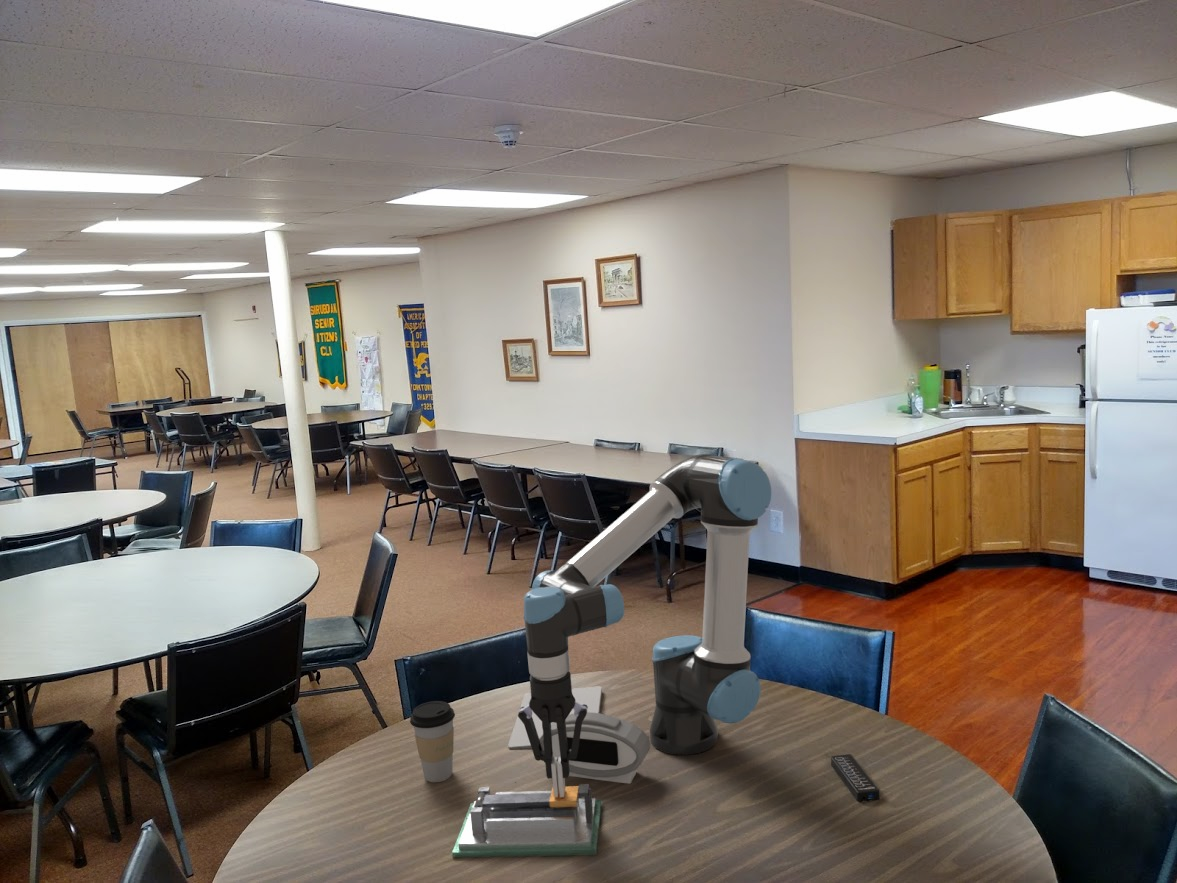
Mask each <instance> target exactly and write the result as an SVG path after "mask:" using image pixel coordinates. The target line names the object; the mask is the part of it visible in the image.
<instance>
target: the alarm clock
mask: <svg viewBox="0 0 1177 883" xmlns="http://www.w3.org/2000/svg"><path fill="white" fill-rule="evenodd" d="M575 722H576V716H575V715H574V714H570V715H568V717H567V718H566V719H565V724H566V733H567V743H568V750H571V748H572V741H573V735H574V728H575ZM551 733H552V750H553V757H557V763H558V759H559V757H560V747H559V738H558V729H557V723H555V722H553V723H552V724H551ZM539 740H540V743H541V746H542V749H543V751H544V740H543V735H542V736H541V737H540V738H539ZM651 745H652V743H651V741H650V736H648V735H647V734H646V732H645V731H644V730H643V729H641V728H640V727H639V726H637V725H635V724H634V723H632V722H630V721H627V720H625V719H623V718H619V717H616V716H613V715H608V714H605V713H601V712H600V713H590V712H587V714H586V716H585V718H584V720H583V721H582V727H581V734H580V740H579V747H578V753H577V758H576V759H571V760H569V769H570V773H569V777H573V778H575V777H576V778H582V779H590V780H599V781H607V782H613V783H623V784H631V783H632V781H633V779H634V778H635V776H636V775H637V769H638V768H639V767H640V766H641V765H642V764H643V762H644V760H645V758H646V756H647V754H648V753H649V751H650V749H651Z"/></svg>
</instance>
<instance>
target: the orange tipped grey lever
mask: <svg viewBox="0 0 1177 883" xmlns="http://www.w3.org/2000/svg"><path fill="white" fill-rule="evenodd" d="M551 791H552V792H551V793H531V794H503V795H495V794H490V795H486V794H485V793H483V792H481V793H479V795H478V794H477V798H476V800H475V801H476V803H475V806H474V807H483V808H494V807H524V806H550V808H553V807H577V803H578V791H579V785H569V786H567V785H565V795H564V797H560V791H559V795H558V797H554V792H553V786H552V788H551Z"/></svg>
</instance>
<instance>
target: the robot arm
mask: <svg viewBox="0 0 1177 883" xmlns="http://www.w3.org/2000/svg"><path fill="white" fill-rule="evenodd" d="M771 500H772V486H771V481H770V478H769V476H768V475H767V473H766V471H764V469H763V468H762V467H761V465H759V464H757V463H755V462H753V461H751V460H746V459H744V458H738V457H732V456H730V457H729V456H721V455H713V454H710V453H709V454H708V453H702V454H695V455H691V456H690V457H687V458H685V459H683V460H681V461H680V462H678V463H676V464H675V465H673V466H671V467H670V468H669V469H667V470H666V471H665V472H663V473H662V474H661V475H659V476H658V477H657V478H656V479H654V481H652V482H651V483H650V485H649V491H648V492H646V493H645V495H643V496H642V497H641V498H640V499H638V500H637V501H636V502H635V503H634V504H633V505H632V506H631V507H630V508H628V509H627V510H626V511H625V512H624V513H622V514H621V515H620V516H619V517H617V519H616V520H614V521H613V522H612V523H610V525H608V526H607V527H606V528H604V530H603V531H601V532H600V533H599V534H598V535H597V536H596V537H595V538H593V539H592V540H591V541H590V542H589V543H587V544H586V545H585V546H584V547H582V548H581V550H578V552H577V553H576V554H574V555H573V557H571V558H570V559H569V560H567V561H566V562H565V563H564V564H563V565H561V567H559V568H558V569H557V570H552V569H551V570H545V571H544V570H543V571H541V572H540V573H539V574H537V576H536V577H535V578H534V580H533V583H532V586H531V589H530V590H529V591H527V593H525V595H524V597H523V621H524V626H525V637H526V648H527V651H526V652H527V653H526V654H527V662H528V665H527V666H528V672H529V674H530V676H529V685H530V686H529V688H530V692H531V699H530V702H529V705H527V706H526V707H521V706H520V707H521V708H519V710H518V714H517V716H518V717H519V718H520V720H521V721H522V722H523V724H524V726H525V729H526V732H527V735H528V738H529V741H530V744H531V747H532V748H531V751H532V753H533V757H534V760H536V761H542V762H544V763H545V776H546V778H547V779H548V780H549V779H552V787H553V792H554V797H558V795H559V791H560V797H564V795H565V786H566V779H568V778H570V776H569V773H570V769H569V760H571V759H576V758H577V753H578V747H579V740H580V734H581V727H582V721H583V720H584V718H585V716H586V714H587V709H588V706H587V705H585V704H583V705H580V704H579V703H577V702H575V698H574V696H573V694H572V689H573V688H572V687H573V686H572V676H571V671H570V669H571V663H570V653H569V652H570V650H569V637H573V636H576V635H577V636H578V635H579V634H584V633H587V632H591V631H595V630H597V629H601V628H607V627H609V626H612V625H614V624H617V623H619V622H621V620H622V619H623V617H624V615H625V609H626V608H625V602H624V597H623V595H622V593H621V591H620V590H619V588H618V587H617V586H615V585H614V584H600V583H601V582H602V581H603V580H604V579H605V578H606V577H608V576H609V575H610V574H611V573H612V572H613V571H614V570H616V569H617V568H618V567H619V566H620V565H621V564H622V563H623V562H624V561H626V560H627V559H628V558H629V557H631V555H632V554H634V553H635V552H636V551H637V550H638V549H640V548H641V546H643V545H644V544H645V543H646V542H647V541H648V540H650V539H651V538H652V537H653V536H654V535H655V534H657V532H659V531H660V530H661V529H662V528H664V526H665V525H667V524H668V523H669V522H670V521H671V520H672V519H680V518H682V517H683V516H684V515H685V514H686V513H687V512H689V511H693V510H695V509H700V510H701V511H700V523H701V525H703V526H704V528H705V529H706V531H707V537H706V554H705V555H706V559H705V576H704V577H705V578H704V597H703V598H704V599H703V600H704V601H703V615H702V616H703V617H702V619H703V620H702V636H699V635H693V634H689V635H688V634H683V635H676V636H670V637H666V638H663V639H661V640H659V641H657V642H656V643H655V644H654V646H652V647H653V648H652V660H651V661H652V666H653V680H654V683H653V684H654V695H655V696H654V697H655V709H654V712H653V717H652V718H651V719H652V720H651V724H650V726H649V740H650V743H651V745H652V746H653V747H654V748H656V749H658V750H659V751H662V752H664V753H666V754H667V753H668V754H673V755H683V756H684V755H686V756H687V755H694V754H699V753H702V752H705V751H708V750H710V749H711V748H713V747H714V746H715V745H716V744H717V742H718V739H719V735H718V734H719V733H718V732H719V731H718V727H717V724H716V721H715V720H717V721H720V722H723V723H725V724H736V723H739V722H741V721H743V720H744V719H746V718H747V717H749V716H750V715H751V712H753V711H754V710H755V708H756V706H757V705H758V703H759V700H760V697H761V691H762V686H761V681H760V679H759V677H758V676H757V674H756V673H755V672H754V671H752V670H751V657H752V656H751V653H750V651H748V650H747V648H745V632H746V631H745V630H746V629H745V628H746V613H747V612H746V611H747V609H746V608H747V590H748V571H749V570H748V568H749V554H750V553H749V551H750V534H751V532H752V531H754V530H755V529H756V528H757V527H758V524H759V523H758V522H759V518H761V517H762V516H763V515H764V514H765V513H766V512H767V511H766V509H767V508H769V507H770V504H771ZM598 584H599V585H598ZM597 585H598V586H597ZM572 709H574V711H575V712H574V715H575V716H576V722H575V728H574V735H573V741H572V748H571V750H568V743H567V733H566V724H565V719H566V718H567V717H568V715H569V714H570V712H571V711H572ZM532 711H533V712H534V713H535V714H536V715H537V717H538V718H539V719H540V720H541V721H542V729H543V740H544V751H543V749H542V746H541V743H540V740H539V737H538V734H537V731H536V728H535V724H534V721H533V718H532ZM552 722H555V723H557V729H558V738H559V747H560V757H559V759H558V763H557V757H553V750H552V733H551V723H552Z"/></svg>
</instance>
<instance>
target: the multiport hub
mask: <svg viewBox="0 0 1177 883" xmlns="http://www.w3.org/2000/svg"><path fill="white" fill-rule="evenodd" d="M830 763H831V767H832V768H833V770H834V771H835V773H836V774H837V776H838V777H839V778H840V780H841V781H842V783H843V784H844V785H845V787H846V788H847V789H848V790H849V792H850V793H851V795H852V796H853V798H854V799H855V800H856V802H858V803H865V802H874V801H879V800H881V795H880V794H881V793H880V791H881V790H880V788H879V787H878V786H877V785H876V783H875V782H874V781H873V780H872V779H871V777H870V776H869V775H868V774H867V772H866V771H865V769H864V768H863V767H862V766H861V765H860V763H859V761H857V760H856V758H855V757H854V756H853V755H852V754H850V753H849V754H847V753H846V754H839V755H838V754H837V755H831V756H830Z"/></svg>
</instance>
